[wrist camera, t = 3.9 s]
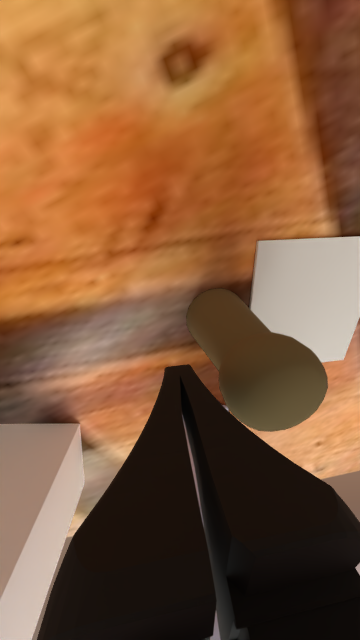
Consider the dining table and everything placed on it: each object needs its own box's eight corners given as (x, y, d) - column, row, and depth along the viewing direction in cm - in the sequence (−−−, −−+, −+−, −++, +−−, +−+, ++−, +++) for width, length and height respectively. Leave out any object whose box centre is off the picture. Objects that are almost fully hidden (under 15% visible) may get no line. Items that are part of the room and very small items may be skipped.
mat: (341, 358, 22) (343, 359, 22) (242, 369, 21) (243, 371, 21) (386, 235, 17) (390, 235, 17) (256, 240, 16) (258, 240, 15)
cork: (241, 281, 17) (367, 332, 7) (246, 335, 19) (344, 433, 9) (180, 296, 17) (216, 372, 7) (192, 349, 19) (232, 464, 9)
